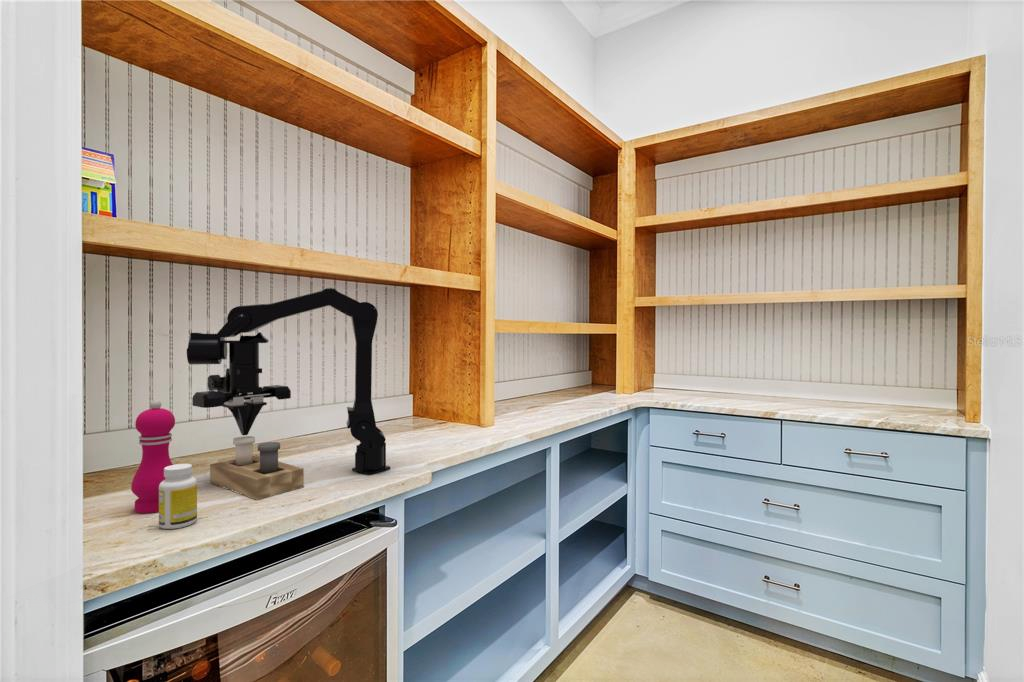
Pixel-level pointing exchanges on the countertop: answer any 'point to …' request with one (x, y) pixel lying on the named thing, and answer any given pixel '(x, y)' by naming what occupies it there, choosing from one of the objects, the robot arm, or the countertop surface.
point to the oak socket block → (256, 478)
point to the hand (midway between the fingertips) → (244, 435)
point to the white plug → (243, 450)
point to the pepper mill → (152, 455)
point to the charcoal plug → (268, 457)
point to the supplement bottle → (177, 497)
